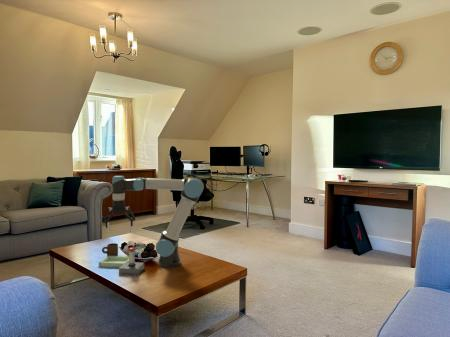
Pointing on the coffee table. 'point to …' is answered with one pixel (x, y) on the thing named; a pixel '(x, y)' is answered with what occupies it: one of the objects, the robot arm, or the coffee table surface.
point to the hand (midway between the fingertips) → (119, 232)
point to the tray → (113, 261)
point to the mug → (111, 249)
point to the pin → (131, 256)
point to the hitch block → (131, 269)
